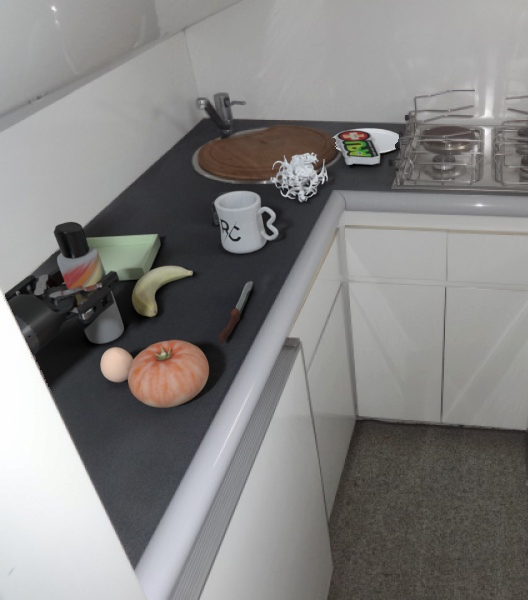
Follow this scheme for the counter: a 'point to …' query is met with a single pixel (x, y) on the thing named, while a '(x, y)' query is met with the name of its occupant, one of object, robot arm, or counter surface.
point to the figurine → (300, 175)
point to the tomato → (168, 373)
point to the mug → (243, 222)
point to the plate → (380, 139)
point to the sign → (358, 147)
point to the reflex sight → (215, 214)
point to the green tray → (127, 254)
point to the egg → (116, 364)
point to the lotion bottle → (86, 279)
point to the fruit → (154, 287)
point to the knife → (236, 313)
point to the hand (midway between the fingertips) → (92, 272)
